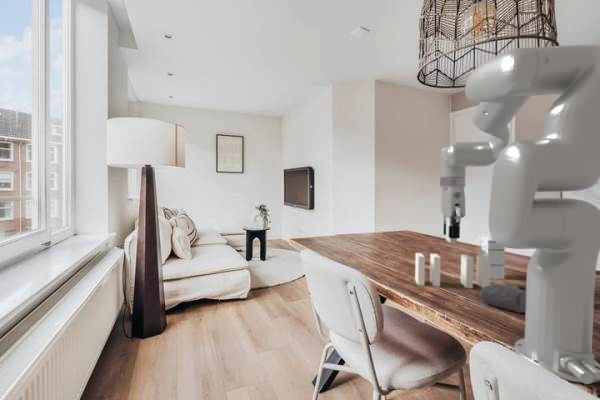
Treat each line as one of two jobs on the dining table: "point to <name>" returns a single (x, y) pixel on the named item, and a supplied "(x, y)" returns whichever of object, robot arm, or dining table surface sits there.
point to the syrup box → (494, 257)
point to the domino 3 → (451, 240)
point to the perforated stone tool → (505, 297)
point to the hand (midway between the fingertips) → (451, 235)
